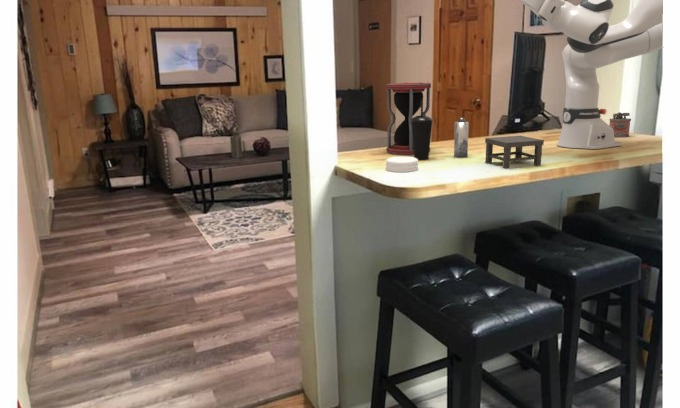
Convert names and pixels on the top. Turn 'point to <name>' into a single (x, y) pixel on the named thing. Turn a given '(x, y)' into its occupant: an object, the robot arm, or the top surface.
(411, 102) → the hourglass
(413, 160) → the coaster
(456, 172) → the top surface
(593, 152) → the top surface
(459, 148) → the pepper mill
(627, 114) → the lighter
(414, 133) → the drinking cup
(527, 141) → the stool
